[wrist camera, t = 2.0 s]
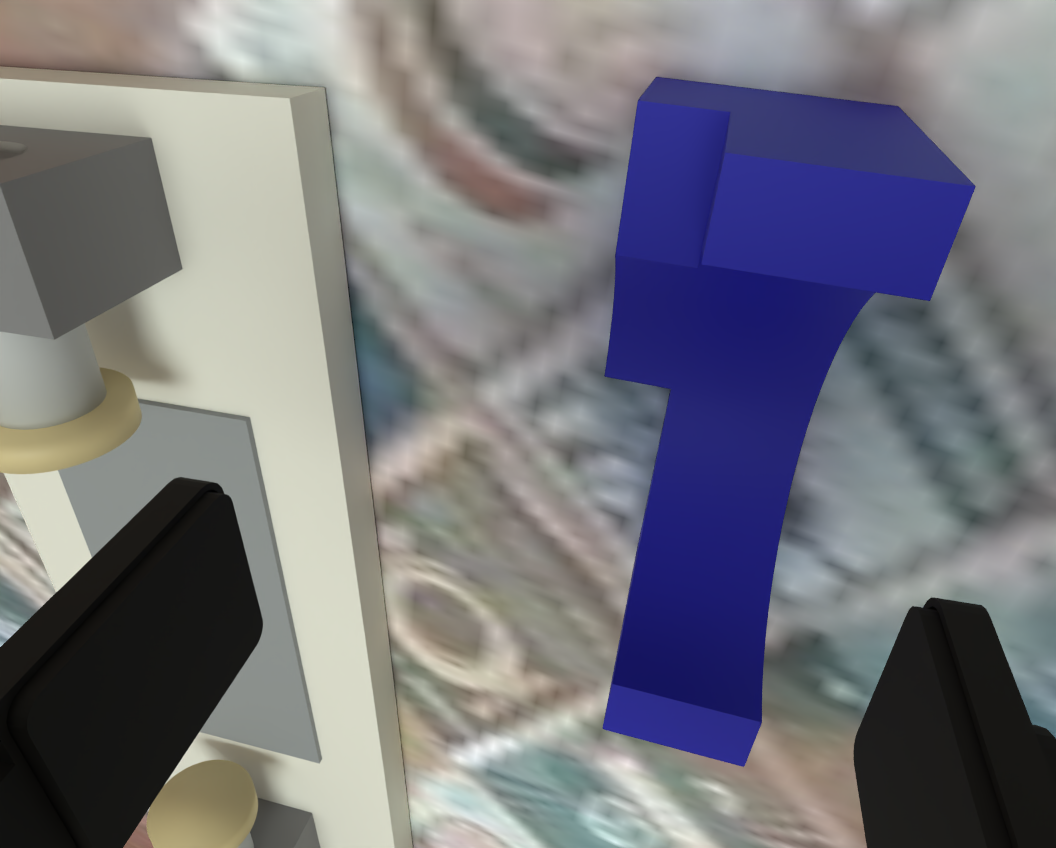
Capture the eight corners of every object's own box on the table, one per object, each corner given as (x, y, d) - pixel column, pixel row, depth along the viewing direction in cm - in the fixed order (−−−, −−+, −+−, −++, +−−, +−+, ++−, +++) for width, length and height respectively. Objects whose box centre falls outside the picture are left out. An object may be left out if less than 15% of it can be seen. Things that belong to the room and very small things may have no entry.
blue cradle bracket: (656, 76, 15) (609, 136, 10) (896, 104, 14) (976, 185, 9) (585, 535, 21) (534, 710, 16) (745, 571, 21) (744, 766, 16)
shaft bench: (324, 87, 16) (148, 142, 12) (413, 852, 33) (355, 1004, 28) (-114, 59, 19) (-409, 94, 14) (175, 785, 35) (84, 914, 31)
